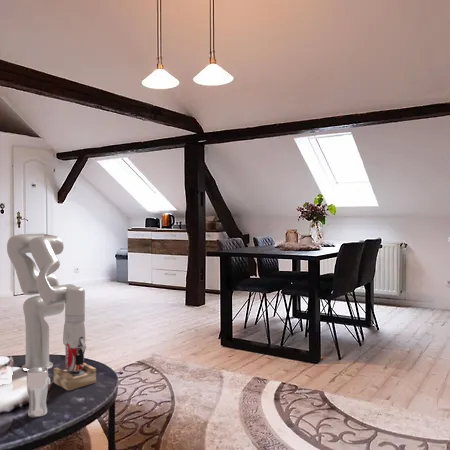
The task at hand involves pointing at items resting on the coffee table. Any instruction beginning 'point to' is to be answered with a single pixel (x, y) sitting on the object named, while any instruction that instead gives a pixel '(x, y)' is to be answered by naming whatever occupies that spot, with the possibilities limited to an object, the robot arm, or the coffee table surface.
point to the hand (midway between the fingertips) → (74, 361)
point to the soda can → (72, 359)
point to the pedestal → (75, 377)
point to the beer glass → (37, 390)
